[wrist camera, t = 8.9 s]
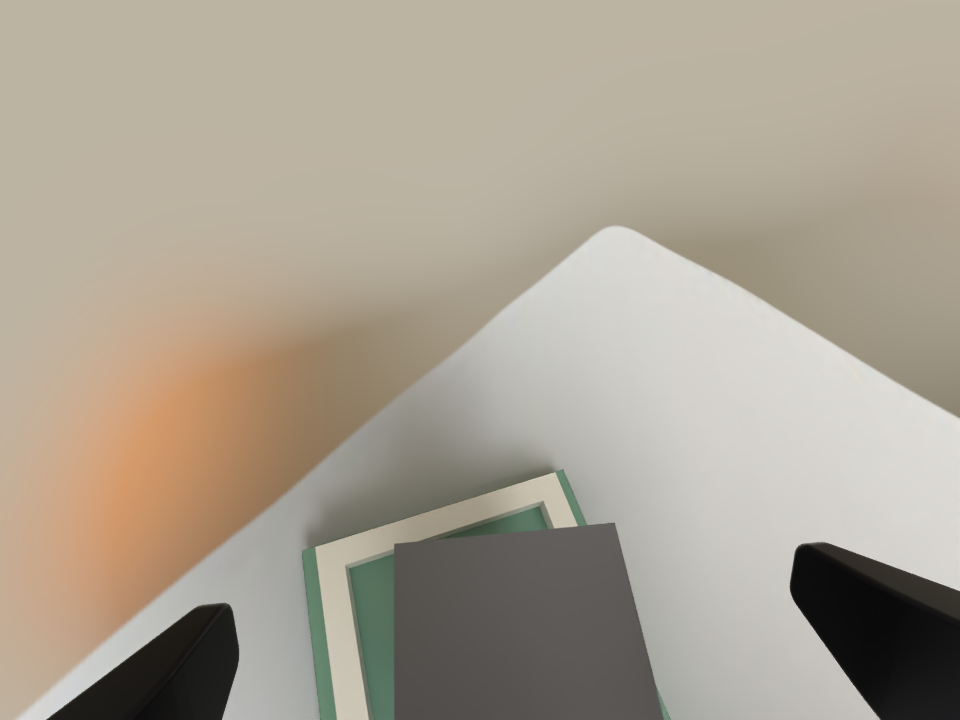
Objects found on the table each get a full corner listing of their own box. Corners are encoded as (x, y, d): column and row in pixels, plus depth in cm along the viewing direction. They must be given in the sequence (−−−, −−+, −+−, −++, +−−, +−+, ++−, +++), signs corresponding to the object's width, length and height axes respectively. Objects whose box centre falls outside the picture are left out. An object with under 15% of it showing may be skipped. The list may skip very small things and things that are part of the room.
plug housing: (546, 702, 16) (679, 782, 7) (423, 719, 16) (393, 829, 7) (528, 582, 18) (614, 522, 9) (419, 593, 18) (394, 543, 9)
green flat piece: (721, 862, 15) (766, 898, 13) (368, 1067, 13) (352, 1153, 10) (558, 476, 22) (570, 458, 20) (307, 554, 19) (291, 544, 17)
